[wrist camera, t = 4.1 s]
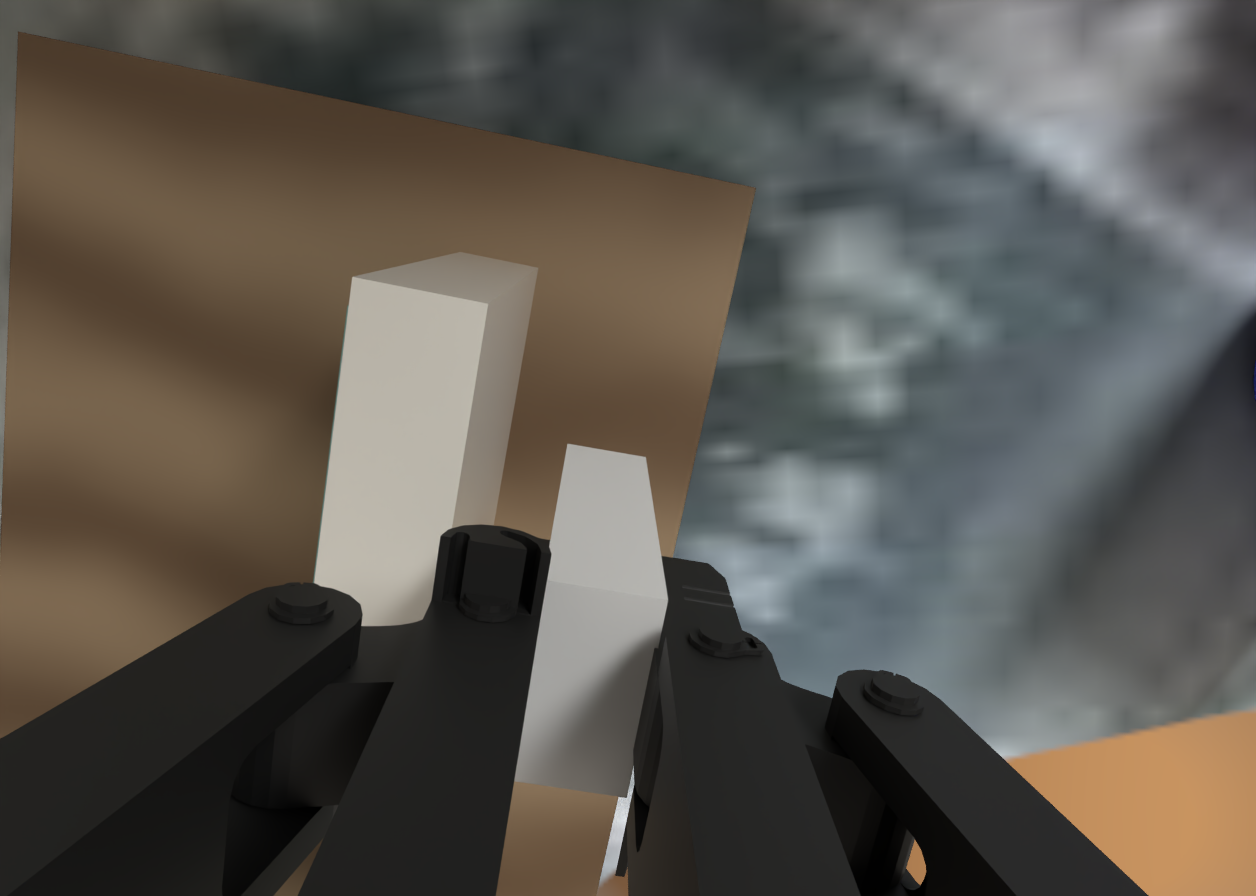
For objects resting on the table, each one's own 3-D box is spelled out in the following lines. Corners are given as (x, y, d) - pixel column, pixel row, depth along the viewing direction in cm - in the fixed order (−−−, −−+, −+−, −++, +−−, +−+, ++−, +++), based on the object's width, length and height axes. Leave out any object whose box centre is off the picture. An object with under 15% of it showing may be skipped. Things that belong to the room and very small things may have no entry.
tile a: (454, 250, 23) (342, 274, 13) (538, 267, 23) (488, 304, 13) (410, 543, 25) (283, 752, 15) (487, 557, 25) (412, 773, 15)
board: (48, 41, 23) (17, 31, 21) (749, 189, 24) (756, 187, 23) (12, 906, 29) (-14, 935, 28) (569, 987, 30) (568, 1019, 29)
